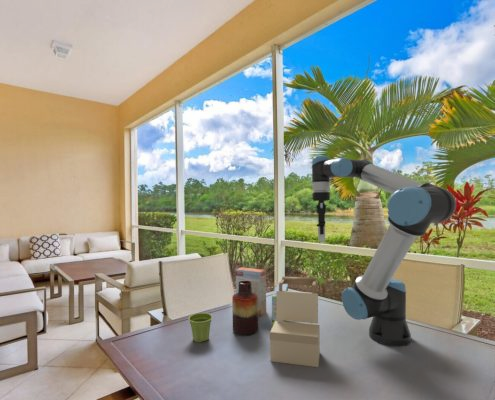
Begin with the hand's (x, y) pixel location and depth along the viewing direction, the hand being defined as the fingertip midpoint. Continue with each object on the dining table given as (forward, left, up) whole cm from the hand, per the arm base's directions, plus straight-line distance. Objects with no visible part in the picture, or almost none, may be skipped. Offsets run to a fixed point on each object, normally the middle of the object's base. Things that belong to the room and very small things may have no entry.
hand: (321, 239), depth 141 cm
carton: (+8, +33, -37) cm, 50 cm away
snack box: (+18, +5, -37) cm, 41 cm away
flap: (+8, +28, -19) cm, 35 cm away
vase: (+31, +16, -37) cm, 51 cm away
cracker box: (+34, -5, -37) cm, 50 cm away
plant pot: (+46, +28, -37) cm, 65 cm away
